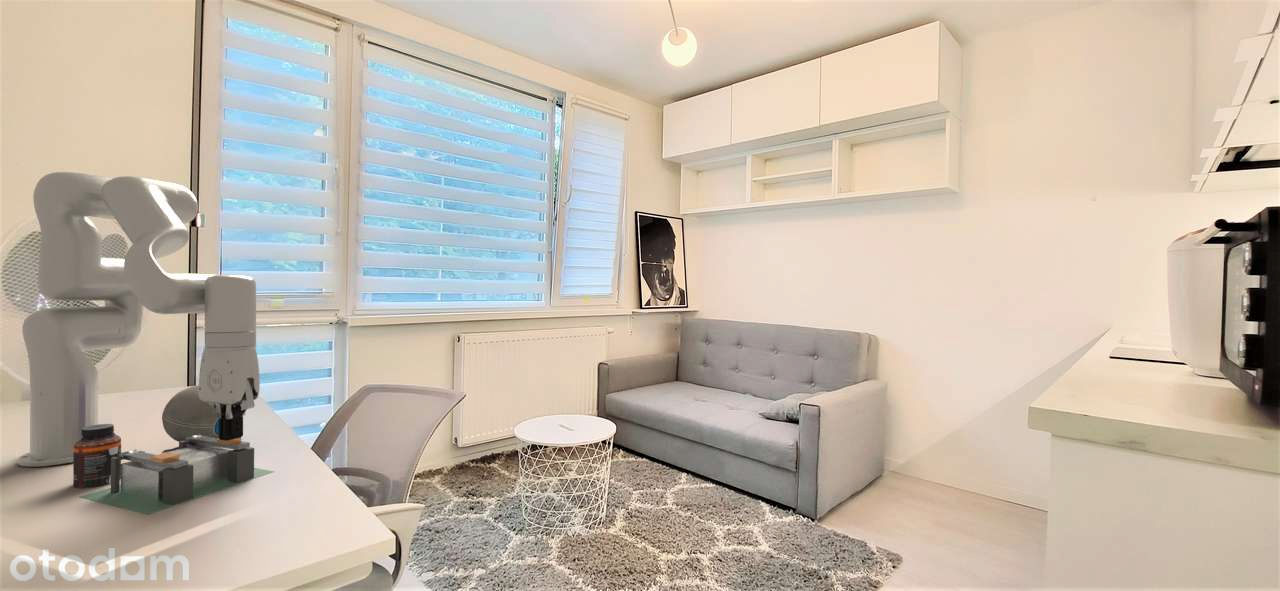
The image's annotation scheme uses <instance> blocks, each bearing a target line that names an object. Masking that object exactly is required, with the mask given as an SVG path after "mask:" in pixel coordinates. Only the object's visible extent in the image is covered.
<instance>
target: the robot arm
mask: <svg viewBox="0 0 1280 591" xmlns="http://www.w3.org/2000/svg"><path fill="white" fill-rule="evenodd" d="M32 198H33V206H34V211H35V214H36V218H37V220H38V223H39V228H40V242H39V243H40V245H39V256H38V257H39V258H38V271H37V272H38V273H37V284H38V285H37V286H38V289H39V292H40V293H41V295H42V296H43V297H46V298H48V299H49V300H53V301H63V302H64V301H66V302H67V301H68V302H71V301H72V302H87V301H89V302H90V301H91V302H93V301H95V302H96V301H104V306H58V307H50V308H44V309H40V310H37V311H34V312H32V313H31V314H29V315H28V316H27V317H26V318H25V319H24V321H23V322H22V327H21V328H22V331H21V332H22V336H23V341H24V344H25V348H26V352H27V356H28V365H29V452H28V453H24V454H23V455H21V456H19V457H18V458H17V465H19V466H21V467H28V468H29V467H31V468H34V467H35V468H36V467H49V466H58V465H59V466H60V465H65V464H70V463H73V453H74V451H73V448H74V444H75V443H76V442H77V441H78V440H80V439H82V437H83V436H82V435H81V434H82V428H84V427H88V426H92V425H99V372H98V369H97V367H96V365H95V364H94V362H92V361H91V360H90V359H89V358H88V357H87V356H86V355H85V354H84V352H88V351H89V352H90V351H98V350H99V351H100V350H110V349H119V348H124V347H129V346H131V345H132V344H134V343H135V342H136V341H137V340H138V338H139V336H140V334H141V330H142V320H143V310H144V309H143V308H146V309H147V310H148V311H150V312H152V313H155V314H159V315H184V314H185V315H186V314H204V348H203V351H202V354H201V359H200V366H199V376H198V385H199V398H200V399H201V400H202V401H204V402H208V404H209V405H211V406H213V407H215V409H216V414H217V418H221V419H219V439H220V440H225V441H228V440H232V439H236V438H239V437H241V438H243V436H244V417H245V416H246V411H247V410H250V409H254V408H255V406H256V405H255V400H257V399H258V398H259V396H260V386H261V385H260V384H261V383H260V382H261V381H260V378H261V377H260V367H259V366H260V365H259V359H258V353H257V285H256V284H257V283H256V281H255V279H254V277H252V276H247V275H240V274H239V275H237V274H236V275H234V274H229V275H228V274H225V275H223V274H211V273H210V274H209V273H190V272H189V273H188V272H187V273H186V272H179V273H178V272H165V271H164V270H163V268H162V267H161V266H160V265H159V263H158V261H156V260H157V259H160V258H163V257H166V256H169V255H171V254H175V253H176V252H178V251H180V250H181V249H183V248H184V247H185V246H186V245H187V243H188V241H189V239H190V233H189V230H188V229H187V227H186V226H185V224H189V223H190V222H192V221H193V220H195V218H196V217H197V214H198V210H199V203H198V200H197V198H196V196H195V195H194V193H193V192H192V191H191V190H190V189H188V188H187V187H185V186H184V185H180V184H178V183H173V182H168V181H161V180H156V179H152V178H151V179H150V178H145V177H139V176H132V175H131V176H130V175H129V176H117V177H114V178H111V177H106V176H100V175H94V174H88V173H82V172H81V173H80V172H69V171H57V172H51V173H47V174H45V175H43V176H42V177H41V178H40V179H39V180H38V181H37V183H36V185H35V187H34V191H33V197H32ZM89 217H91V218H92V217H93V218H99V219H100V218H101V219H109V220H116V222H117V223H118V225H119V226H120V228H121V230H122V231H123V232H124V233H125V235H126V236H127V238H128V239H129V241H130V242H131V243H132V245H131V246H130V247H129V248H128V250H127V252H126V254H125V257H124V258H121V257H120V258H119V257H109V256H108V257H107V256H105V257H104V256H102V244H103V239H102V235H101V234H102V233H100V231H99V230H98V228H97V227H96V225H95V224H94V223H93V221H92V220H91V219H89Z"/></svg>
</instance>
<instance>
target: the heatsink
mask: <svg viewBox="0 0 1280 591" xmlns="http://www.w3.org/2000/svg"><path fill="white" fill-rule="evenodd" d="M230 450H234V449H229V448H222V447H215V446H208V445H202V444H197V445H193V446H190V447H186V448H182V449H178V450H174V451H170V452H166V453H173V454H178V455H180V460H185V461H188V464H190V465H193V490H196V489H199V488H202V487H205V486H208V485H211V484H214V483H217V482H220V481H223V480H226V479H228V451H230ZM160 454H164V453H162V452H161V453H157V455H160ZM163 469H165V468H163V467H158V466H154V465H149V464H144V463H139V462H134V461H127V462H123V463H122V462H121V479H120V485H121V493H124V494H128V495H133V496H137V497H141V498H145V499H149V500H153V501H158V502H159V501H162V500H163Z"/></svg>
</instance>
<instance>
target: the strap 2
mask: <svg viewBox="0 0 1280 591" xmlns="http://www.w3.org/2000/svg"><path fill="white" fill-rule="evenodd" d="M185 441H187V444H188V443H195V444H202V445H208V446H215V447H222V448H229V449H236V450H240V449H243V448H247V447H250V446H251V445H250V444H251V443H250V442H249V441H242V437H239V438H236V439H232V440H228V441H225V440H220V439H219V438H214V437H206V436H201V435H200V434H199V435H194V436H190V437H186V438H185Z"/></svg>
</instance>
